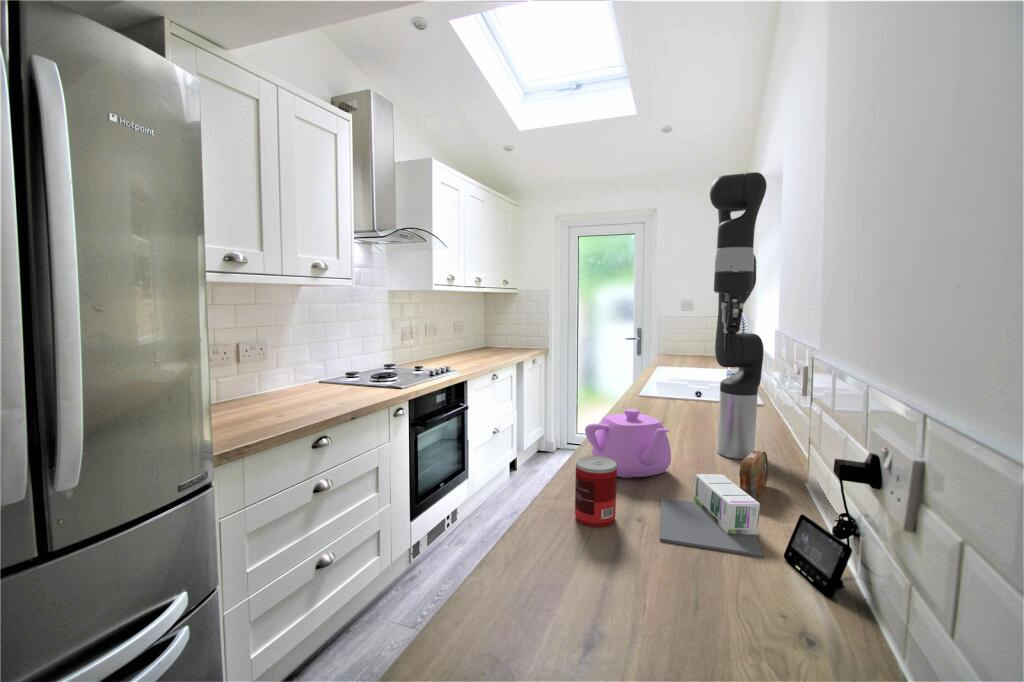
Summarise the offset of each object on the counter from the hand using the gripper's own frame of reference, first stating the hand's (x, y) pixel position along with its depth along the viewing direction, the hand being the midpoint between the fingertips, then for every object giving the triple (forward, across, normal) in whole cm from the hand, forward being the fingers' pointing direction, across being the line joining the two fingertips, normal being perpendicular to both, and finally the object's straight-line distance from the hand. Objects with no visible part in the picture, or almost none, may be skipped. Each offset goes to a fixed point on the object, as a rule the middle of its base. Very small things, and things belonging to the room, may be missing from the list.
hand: (729, 351), depth 102 cm
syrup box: (+28, +8, -4) cm, 29 cm away
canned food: (+31, +23, -25) cm, 46 cm away
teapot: (+31, -6, -20) cm, 38 cm away
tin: (+31, -1, +6) cm, 32 cm away
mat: (+31, +19, -5) cm, 37 cm away
